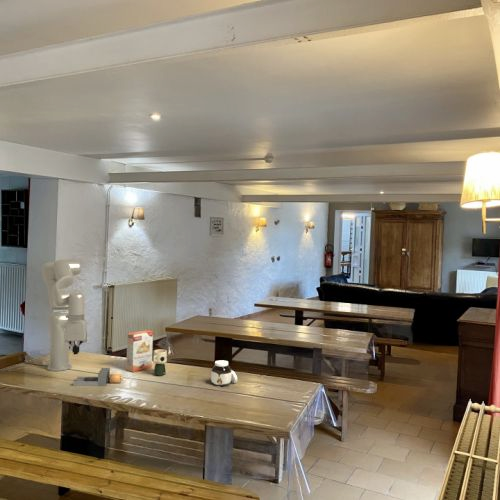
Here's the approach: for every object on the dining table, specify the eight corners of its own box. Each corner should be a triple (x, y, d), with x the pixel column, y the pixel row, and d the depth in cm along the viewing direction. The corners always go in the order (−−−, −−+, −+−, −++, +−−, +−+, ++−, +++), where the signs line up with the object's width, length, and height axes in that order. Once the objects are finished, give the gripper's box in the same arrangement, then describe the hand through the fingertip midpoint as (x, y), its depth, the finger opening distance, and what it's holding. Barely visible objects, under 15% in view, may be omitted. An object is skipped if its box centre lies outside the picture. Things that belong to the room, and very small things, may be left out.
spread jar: (208, 385, 247) (209, 362, 247) (220, 379, 257) (220, 357, 257) (229, 389, 242) (229, 365, 241) (240, 383, 252) (240, 360, 251)
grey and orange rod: (84, 384, 243) (84, 375, 243) (86, 381, 248) (86, 372, 247) (122, 384, 245) (122, 375, 245) (123, 381, 250) (123, 372, 249)
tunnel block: (72, 385, 240) (73, 373, 240) (77, 379, 250) (77, 368, 250) (106, 385, 242) (106, 373, 242) (109, 379, 252) (109, 367, 251)
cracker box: (133, 372, 265) (133, 334, 264) (125, 370, 268) (126, 333, 268) (152, 367, 276) (153, 331, 275) (145, 365, 279) (146, 329, 279)
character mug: (158, 378, 256) (159, 353, 256) (148, 376, 259) (148, 352, 259) (171, 373, 266) (171, 349, 265) (160, 371, 269) (161, 348, 268)
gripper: (58, 318, 239) (58, 355, 240) (90, 319, 241) (89, 355, 242) (62, 316, 247) (62, 351, 247) (93, 316, 248) (92, 352, 249)
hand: (75, 353), depth 245 cm, fingers closed
